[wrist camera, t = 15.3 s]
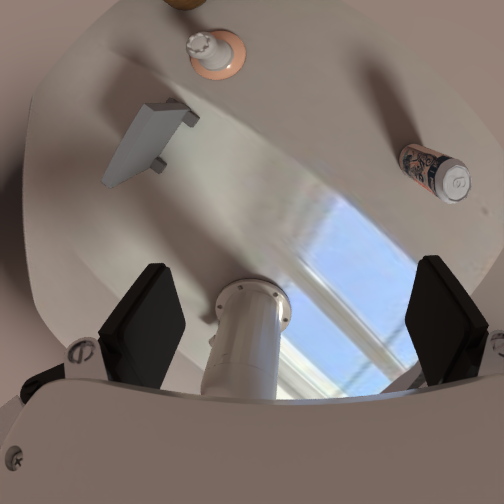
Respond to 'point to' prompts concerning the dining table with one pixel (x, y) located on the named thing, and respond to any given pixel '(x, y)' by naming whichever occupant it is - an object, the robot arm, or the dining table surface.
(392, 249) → the dining table surface
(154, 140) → the grey upright panel
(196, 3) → the utensil holder
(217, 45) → the rook chess piece
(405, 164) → the beer can
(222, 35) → the pink round domed part
